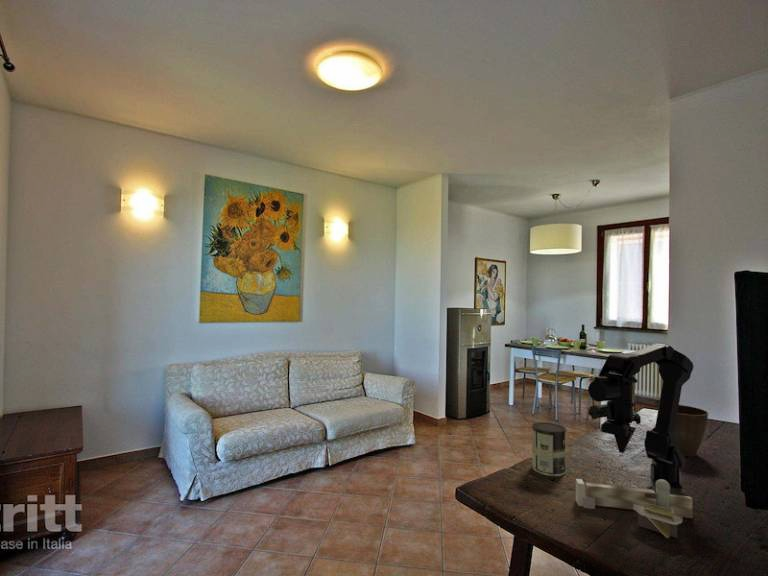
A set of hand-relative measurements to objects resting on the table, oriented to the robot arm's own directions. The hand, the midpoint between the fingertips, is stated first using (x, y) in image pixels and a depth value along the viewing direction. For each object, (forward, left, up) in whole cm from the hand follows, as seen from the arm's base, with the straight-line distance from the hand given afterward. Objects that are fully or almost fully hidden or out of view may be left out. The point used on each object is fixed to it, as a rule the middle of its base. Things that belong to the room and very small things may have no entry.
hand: (621, 452), depth 116 cm
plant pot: (-33, -41, -12) cm, 54 cm away
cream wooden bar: (+3, +9, -11) cm, 15 cm away
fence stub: (-11, +9, -12) cm, 19 cm away
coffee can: (+18, -12, -12) cm, 25 cm away
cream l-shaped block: (+12, +9, -12) cm, 19 cm away
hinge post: (-7, +9, -12) cm, 17 cm away
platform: (-2, +19, -13) cm, 23 cm away
